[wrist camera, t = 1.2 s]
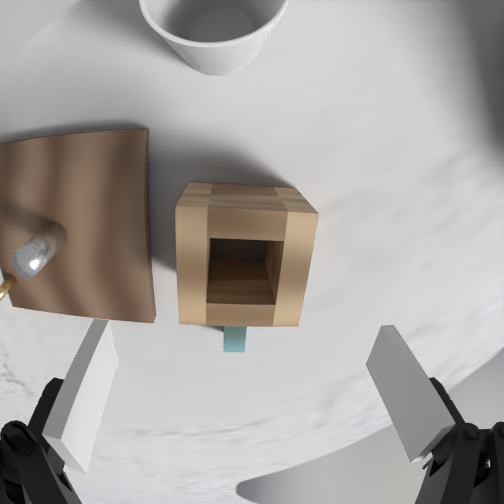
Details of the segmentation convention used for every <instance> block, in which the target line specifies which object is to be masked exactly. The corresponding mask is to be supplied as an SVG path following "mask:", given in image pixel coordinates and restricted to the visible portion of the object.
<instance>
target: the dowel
mask: <svg viewBox="0 0 504 504" xmlns="http://www.w3.org/2000/svg"><path fill="white" fill-rule="evenodd" d="M16 283H17V280H16V278H15V276H13V275H9V276H8V277H7V278H6V279H5V280H4V281H3V282H2V283H1V284H0V301H1V300H2V298H3V297H4V296H5V295H6V294H7V293H8V292H9V291H10V290H11V289H12V288H13V287H14V285H15V284H16Z"/></svg>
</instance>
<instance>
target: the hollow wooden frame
mask: <svg viewBox="0 0 504 504" xmlns="http://www.w3.org/2000/svg"><path fill="white" fill-rule="evenodd" d="M318 215H319V214H318V213H317V211H316V210H315V209H314V208H313V207H312V206H311V205H310V203H309V202H308V201H307V200H306V199H305V198H304V197H303V196H302V194H301V193H300V192H299V191H298V190H297V189H296V188H287V187H273V186H258V185H241V184H221V183H194V182H189V183H188V185H187V186H186V188H185V190H184V192H183V194H182V195H181V197H180V199H179V201H178V203H177V204H176V206H175V221H176V266H177V290H178V309H179V324H191V325H214V326H224V352H244V350H245V339H246V328H247V326H257V327H296V326H298V325H299V320H300V315H301V310H302V305H303V300H304V295H305V290H306V285H307V279H308V274H309V268H310V263H311V257H312V251H313V246H314V240H315V233H316V227H317V221H318ZM211 238H225V239H249V240H267V247H266V256H265V261H239V260H213V259H210V243H211Z"/></svg>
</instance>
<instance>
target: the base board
mask: <svg viewBox="0 0 504 504" xmlns="http://www.w3.org/2000/svg"><path fill="white" fill-rule="evenodd" d="M148 135H149V129H127V130H109V131H95V132H83V133H73V134H63V135H55V136H47V137H40V138H33V139H26V140H20V141H14V142H8V143H3V144H0V266H1V270H2V274H3V277H4V280H5V279H6V278H7V277H8V276H9V275H13V276H15V278H16V280H17V283H16V284H15V285H14V287H13V288H12V289H11V290H10V291H9V292H8V294H9V297H10V300H11V303H12V306H13V307H19V308H25V309H32V310H38V311H45V312H52V313H59V314H67V315H74V316H83V317H91V318H101V319H110V320H121V321H132V322H144V323H154V320H155V316H156V309H155V299H154V289H153V277H152V265H151V250H150V232H149V206H148ZM54 222H55V223H59V224H61V225H62V226H63V227H64V229H65V230H66V232H67V243H66V244H65V246H63V247H62V248H61V249H60V250H59V251H58V252H57V253H56V254H55V255H54V256H53V257H52V258H51V259H50V260H49V261H48V262H47V263H46V264H45V265H44V267H43V268H42V269H41V270H40V271H39V272H38V273H37V274H36V275H35V276H34V277H33V278H32V279H24V278H22V277H21V276H19V275H18V274H17V272H16V271H15V269H14V267H13V264H12V256H13V254H14V252H15V251H17V250H18V249H19V248H20V247H21V246H23V245H24V244H25V243H26V242H28V241H29V240H30V239H31V238H32V237H34V236H35V235H36V234H37V233H39V232H40V231H41V230H43V229H44V228H45V227H46V226H48V225H49V224H51V223H54Z"/></svg>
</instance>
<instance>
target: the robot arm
mask: <svg viewBox="0 0 504 504" xmlns="http://www.w3.org/2000/svg"><path fill="white" fill-rule="evenodd" d="M118 364H119V360H118V357H117V353H116V349H115V345H114V340H113V336H112V332H111V327H110V323H109V320H102V319H94V320H93V322H92V324H91V326H90V328H89V330H88V332H87V334H86V336H85V338H84V340H83V342H82V344H81V346H80V348H79V350H78V352H77V354H76V356H75V358H74V360H73V362H72V364H71V366H70V369H69V371H68V373H67V375H66V377H65V379H64V380H63V379H58V378H53V379H52V380H51V381H50V382H49V383H48V384H47V385H46V386H45V389H44V391H43V393H42V397H40V399H39V401H38V404H37V406H36V408H35V410H34V413H33V415H32V417H31V419H30V422H29V424H28V427H27V425H26V424H24V423H23V422H21V421H17V420H16V421H10V422H8V423H7V424H5V425H4V427H3V428H2V430H1V433H0V438H1V440H0V504H30V502H31V504H82V503H81V501H80V499H79V498H78V496H77V494H76V492H75V491H74V489H73V487H72V485H71V483H70V482H69V480H68V478H67V476H66V474H65V472H64V471H63V468H64V464H66V465H67V466H68V467H69V469H71V470H75V471H78V472H82V473H86V474H87V471H88V467H89V463H90V459H91V455H92V451H93V447H94V443H95V439H96V436H97V432H98V428H99V425H100V421H101V418H102V414H103V411H104V408H105V404H106V401H107V398H108V394H109V391H110V388H111V385H112V382H113V379H114V376H115V373H116V370H117V367H118ZM366 366H367V368H368V370H369V372H370V375H371V377H372V379H373V381H374V383H375V385H376V387H377V389H378V391H379V393H380V396H381V398H382V400H383V402H384V404H385V406H386V408H387V411H388V413H389V415H390V417H391V419H392V422H393V424H394V426H395V428H396V430H397V433H398V435H399V437H400V439H401V442H402V444H403V446H404V449H405V451H406V453H407V456H408V458H409V460H410V462H411V463H413V462H416V461H418V460H421V459H424V458H425V457H426V456H427V455H428V454H429V453H430V452H432V455H433V457H432V458H431V459H430V460H429V461H428V462H427V463H426V464H425V465H424V466H423V468H422V469H425V468H426V467H427V466H428V468H427V471H426V475H425V478H424V480H423V483H422V486H421V489H420V492H419V494H418V497H417V500H416V502H415V504H504V422H498V423H496V424H495V425H494V426H493V427H492V428H491V429H478V427H477V426H476V425H474V424H472V423H465V421H464V420H463V418H462V416H461V415H460V413H459V411H458V410H457V408H456V407H455V405H454V403H453V402H452V400H450V397H449V395H448V394H447V393H446V390H445V389H444V387H443V386H442V384H441V383H440V382H439V381H437V380H436V379H435V378H434V377H432V378H428V377H427V375H426V373H425V372H424V370H423V369H422V367H421V365H420V364H419V362H418V361H417V359H416V358H415V356H414V355H413V353H412V352H411V350H410V349H409V347H408V345H407V344H406V342H405V341H404V339H403V338H402V336H401V335H400V334H399V332H398V331H397V329H396V328H395V326H394V325H386V326H381V328H380V331H379V333H378V336H377V338H376V341H375V343H374V346H373V348H372V351H371V353H370V356H369V358H368V360H367V363H366ZM488 462H490V467H489V465H488Z"/></svg>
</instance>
